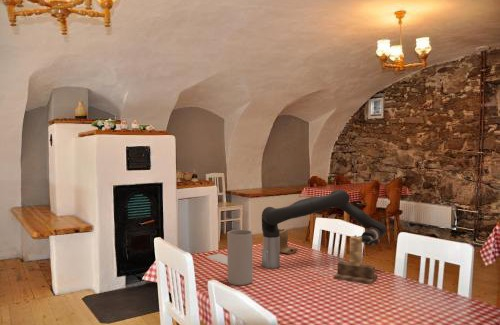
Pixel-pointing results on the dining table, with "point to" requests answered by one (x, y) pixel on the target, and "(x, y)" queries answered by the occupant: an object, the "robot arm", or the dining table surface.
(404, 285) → the dining table surface
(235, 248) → the cylinder vase
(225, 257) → the baseboard
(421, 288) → the dining table surface
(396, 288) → the dining table surface
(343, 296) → the dining table surface
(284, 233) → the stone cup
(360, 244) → the tan tall block
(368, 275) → the walnut ridge
